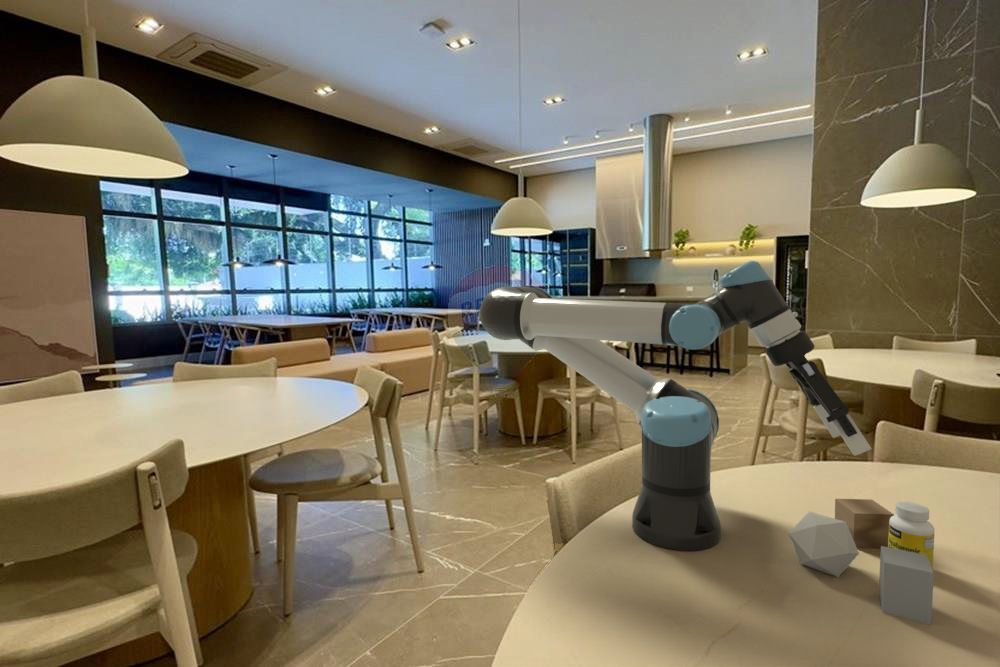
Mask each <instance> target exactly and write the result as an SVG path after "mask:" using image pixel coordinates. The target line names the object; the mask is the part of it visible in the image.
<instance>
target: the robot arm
mask: <svg viewBox="0 0 1000 667" xmlns="http://www.w3.org/2000/svg"><path fill="white" fill-rule="evenodd" d="M719 282H720V285H721V288H720V289H718V290H716V291H715V292H714V293H712V294H711V295H709V296H707V297H705V298H702V299H701V300H699V301H698V302H696V303H682V302H681V303H676V302H656V301H655V302H654V301H653V302H652V301H651V302H650V301H645V302H644V301H629V300H628V301H626V300H604V299H603V300H599V299H576V298H574V299H573V298H554V297H553V296H552V295H551V294H550V293H549V292H548V291H546V290H545V289H542V288H541V287H537V286H534V285H521V286H501V287H498V288H495V289H493V290H491V291H490V292H488V294H486V296H485V297H484V298H483V300H482V302H481V304H480V309H479V320H480V323H481V326H482V328H483V329H484V330H485V332H487V333H488V335H490V336H492V337H493V338H496V339H498V340H501V341H512V340H519V341H521V342H522V343H524V344H525V345H527V346H528V347H529V348H531V349H532V350H534V352H535V351H542V350H545V351H547V352H548V353H549V354H551V355H552V356H554V357H556V358H557V359H558V360H560V361H561V362H562V363H563V364H565V365H567V366H568V367H569V368H571V369H572V370H574V371H576V373H578V374H579V375H581V376H582V377H584V378H586V380H588V381H589V382H591V383H592V384H594V385H595V386H596V387H598V388H599V389H601V390H602V391H603V392H605V393H606V394H607V395H608V396H611V398H614V399H615V400H616V401H617V402H619V403H620V404H622V405H623V406H624V407H626V408H627V409H629V410H631V411H632V412H633V413H634V414H635V419H636V423H637V425H639V426H640V427H641V488H640V489H639V490H640V491H639V494H638V496H637V499H636V502H635V504H634V505H635V506H634V507H633V511H632V517H631V518H632V520H631V523H632V525H631V526H632V529H633V531H634V532H635V534H636V535H637V537H639V538H641V539H642V540H644V541H646V542H647V543H650V544H652V545H655V546H658V547H661V548H665V549H668V550H669V549H670V550H675V551H700V550H707V549H709V548H711V547H714V546H716V545H717V544H718V543H719V542H720V540H721V537H722V536H721V535H722V534H721V528H722V525H721V521H720V517H719V513H718V512H717V508H716V506H715V502H714V500H713V497H712V493H711V458H712V457H711V455H712V453H711V452H712V451H711V450H712V446H713V443H714V442H715V438H716V437H717V435H718V431H719V427H720V420H719V419H720V418H719V415H718V414H719V413H718V410H717V407H716V406H715V405H714V403H713V401H712V400H711V399H710V398H709V397H708V395H707V396H706V395H705V394H704V393H702V392H700V391H698V390H695V389H691V388H690V389H689V388H686V387H684V386H683V385H682V384H680V383H678V382H677V381H675V380H673V379H672V378H670V377H666V378H658V377H656V376H654V375H652V374H651V373H650V372H648V371H647V370H646V369H644V368H643V367H640V365H637V364H636V363H635V362H633V361H632V360H630V359H629V358H627V357H626V356H624V355H623V354H621V353H619V352H618V351H617V350H615V349H614V348H612V347H611V346H609V345H608V344H606V343H605V342H603V341H608V342H609V341H610V342H611V341H612V342H622V343H624V342H626V343H638V344H650V345H665V346H666V345H667V346H672V347H673V346H674V347H675V346H676V347H682V348H683V349H685V350H702V349H705V348H706V347H709V346H710V345H711V344H713V343H714V342H715V341H716V339H717V338H718V337H719V336H720V335H722V334H724V333H725V332H728V331H730V330H731V329H732V328H735V327H736V326H737V327H738V326H740V325H741V324H742V323H744V322H745V323H746V324H747V327H748V328H749V330H750V331H751V334H752V335H753V337H754V338H755V339H756V341H757V342H758V344H759V346H760V347H763V348H764V347H765V349H764V353H765V354H766V356H767V357H768V359H769V361H770V362H771V363H772V365H773V366H775V367H780V366H784V365H786V367H787V368H788V369H789V370H788V371H789V374H790V375H791V377H792V378H793V379H794V380H795V382H796V383H797V384H798V386H799V388H800V389H801V391H802V393H803V395H804V396H805V400H807V401H808V402H809V404H810V405H811V406H813V407H812V408H813V410H814V411H815V412H816V414H817V416H818V417H819V418H820V420H821V421H822V423H823V424H824V426H825V427H826V429H827V431H828V432H829V434H830V436H831V437H832V438H833V439H835V438H837V437H841V438H842V439H843V441H844V442H845V444H846V446H847V448H849V450H850V452H851V453H852V455H853V456H854V457H855V456H858V455H861V454H864V453H865V452H869V451H870V450H872V447H871V445H870V444H869V442H868V441H867V440H866V437H865V436H864V435H863V434H862V432H861V430H860V428H859V427H858V425H856V423H855V421H854V419H853V418H852V417H851V414H849V413H850V409H849V408H848V406H846V405H845V403H844V402H843V401H842V399H841V398H840V397H839V395H838V394H837V393H836V391H835V390H834V389H833V388H832V386H831V385H830V384H829V382H828V381H827V380H826V378H825V377H824V375H823V374H822V373H821V372H820V370H819V368H818V366H817V364H816V363H815V362H814V361H813V360H808V359H807V357H806V354H807V355H808V354H809V353H810V352H812V351H813V350H814V349H815V347H816V346H815V344H814V342H813V341H812V339H811V338H810V336H809V335H808V334H807V332H806V331H805V330H801V328H802V324H801V323H800V322H799V320H798V319H797V317H798V315H799V313H798V312H797V311H793V312H792V310H791V309H790V306H789V305H788V303H787V302H786V300H785V298H784V297H783V296H782V294H781V293H780V291H779V290H778V287H777V286H776V285H775V283H774V282H773V280H772V278H771V277H770V275H768V273H767V272H766V271H765V269H764V268H763V267H762V265H761V263H760V262H758V261H756V260H749V261H746V262H744V263H743V264H741V265H739V266H737V267H735V268H734V269H732V270H730V271H729V272H728V273H727V272H726V273H725V274H724V275H722V276H721V277H720V279H719Z"/></svg>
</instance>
